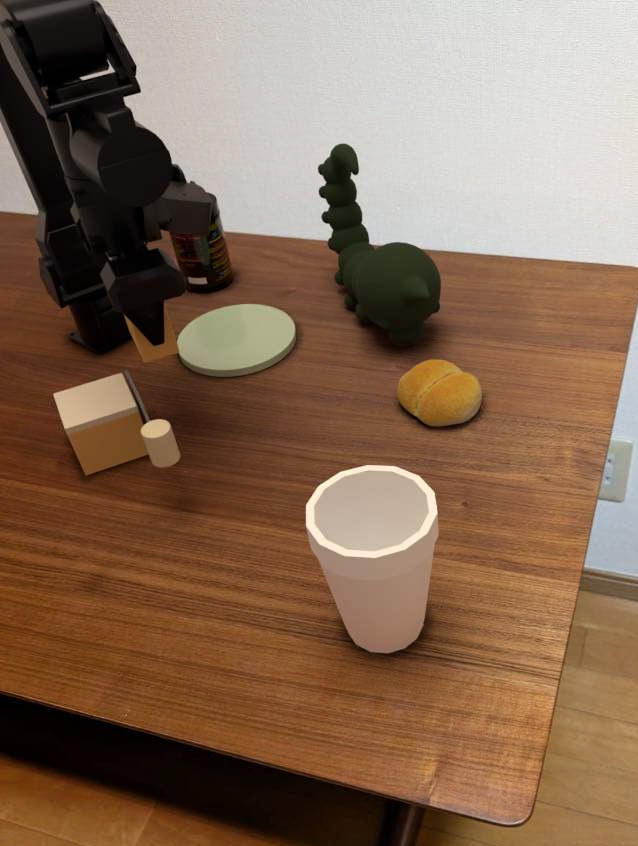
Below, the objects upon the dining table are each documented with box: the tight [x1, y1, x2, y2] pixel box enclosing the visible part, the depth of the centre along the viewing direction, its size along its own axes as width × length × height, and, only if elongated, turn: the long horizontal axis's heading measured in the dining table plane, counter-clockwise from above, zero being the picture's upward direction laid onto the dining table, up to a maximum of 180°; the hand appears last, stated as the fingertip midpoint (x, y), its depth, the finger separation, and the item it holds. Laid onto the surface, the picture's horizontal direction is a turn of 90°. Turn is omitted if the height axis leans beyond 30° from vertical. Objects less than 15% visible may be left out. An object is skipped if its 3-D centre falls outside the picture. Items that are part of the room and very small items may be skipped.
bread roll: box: [396, 358, 483, 427], centre depth 87 cm, size 8×9×4 cm
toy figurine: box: [317, 143, 442, 347], centre depth 94 cm, size 9×19×25 cm
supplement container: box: [168, 191, 234, 293], centre depth 105 cm, size 7×7×10 cm
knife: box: [123, 369, 181, 470], centre depth 81 cm, size 17×3×9 cm, turn 26°
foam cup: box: [305, 464, 440, 654], centre depth 64 cm, size 10×9×13 cm
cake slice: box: [124, 300, 180, 364], centre depth 80 cm, size 6×4×6 cm, turn 26°
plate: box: [176, 303, 297, 378], centre depth 98 cm, size 14×14×1 cm
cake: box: [52, 372, 149, 476], centre depth 84 cm, size 6×7×6 cm
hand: (150, 327), depth 81 cm, fingers closed on cake slice, 6 cm apart
